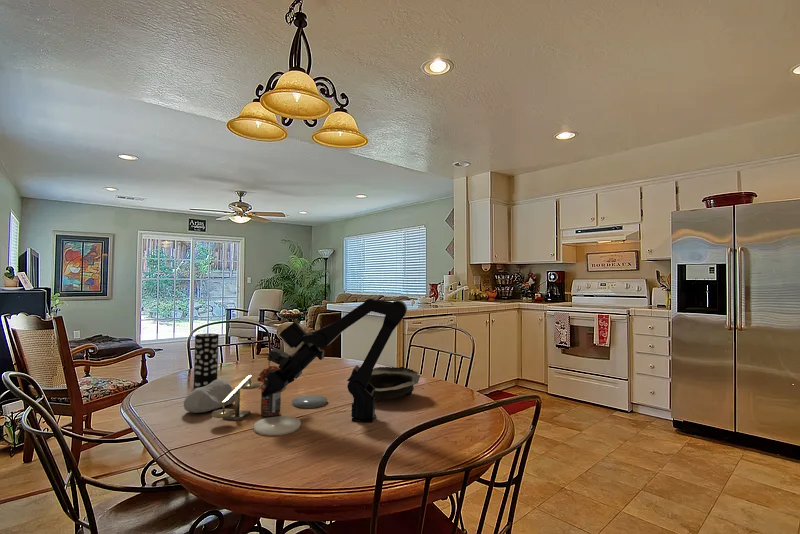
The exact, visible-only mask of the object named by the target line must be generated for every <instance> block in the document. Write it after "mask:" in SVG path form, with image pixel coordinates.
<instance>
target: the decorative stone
mask: <svg viewBox="0 0 800 534" xmlns="http://www.w3.org/2000/svg"><path fill="white" fill-rule="evenodd" d="M233 390H234V389H233V388H232V386H231V384H230V383H228V381H226V380H224V379H222V378H217V380H214V381H213V382H211V383H210V384H209V385H206V386H204V387H200V388H194V389H193V390H192V391H190V392H189V394H188V395H187V396H186V397H185V399H184V401H183V407H184V410H185V411H186V412H189V413H192V414H198V413H199V414H201V413H206V412H210V411H215V410H219V409H220V408H223V404H222V401H223V400H224V399H225V398H226V397H227V396H228V395H229V394H230V393H231V392H232V391H233ZM233 403H235V395H234V396H233V397H232V398H231V399H230V400H229V401H228V403H227V404H226V405H225V406H228V405H231V404H233Z"/></svg>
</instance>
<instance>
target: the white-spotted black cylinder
mask: <svg viewBox="0 0 800 534" xmlns="http://www.w3.org/2000/svg"><path fill="white" fill-rule="evenodd" d="M194 337H195V338H194V363H193V367H194V368H193V369H194V370H193V389H196V388H200V387H204V386H206V385H209V384H210V383H211V382H213V381H214V380H217V379H218V366H219V364H218V363H219V334H218V333H198V334H195V335H194Z"/></svg>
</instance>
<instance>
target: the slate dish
mask: <svg viewBox="0 0 800 534" xmlns="http://www.w3.org/2000/svg"><path fill="white" fill-rule="evenodd" d="M291 404H292V405H291V406H293V407H296V408H300V409H314V408H320V407H323V406H326V405H327V404H328V398H327V397H326V396H323V395H318V394H306V395H299V396H296V397H294V398H292V400H291Z"/></svg>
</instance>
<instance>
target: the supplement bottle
mask: <svg viewBox="0 0 800 534" xmlns="http://www.w3.org/2000/svg"><path fill="white" fill-rule="evenodd" d="M268 383H269V381H268V379H267V378H265V384H264V385H262V386H261V396H260V397H261V398H260V399H261V400H260V402H261V403H260V414H261V415H262V416H264V417H276V416H278V415H279V414H280V413H281V403H282V402H281V398H282V397H281V395H282V390H281V391H278V392H275V393H272V394H270V395H268V396H265V397H263V396H262V393H263V391H264V390H265V388H266V387H267V385H268Z"/></svg>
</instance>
